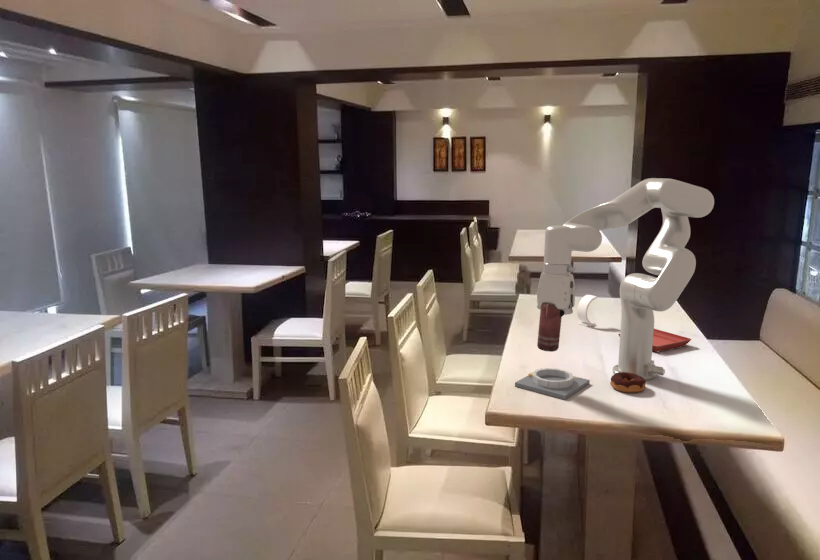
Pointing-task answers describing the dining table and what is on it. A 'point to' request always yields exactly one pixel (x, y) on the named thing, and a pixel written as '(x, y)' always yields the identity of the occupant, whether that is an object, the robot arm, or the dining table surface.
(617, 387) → the donut
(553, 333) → the can
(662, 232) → the robot arm
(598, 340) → the dining table surface
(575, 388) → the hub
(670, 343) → the plant saucer
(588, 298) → the white curved piece
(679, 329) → the dining table surface
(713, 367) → the dining table surface
